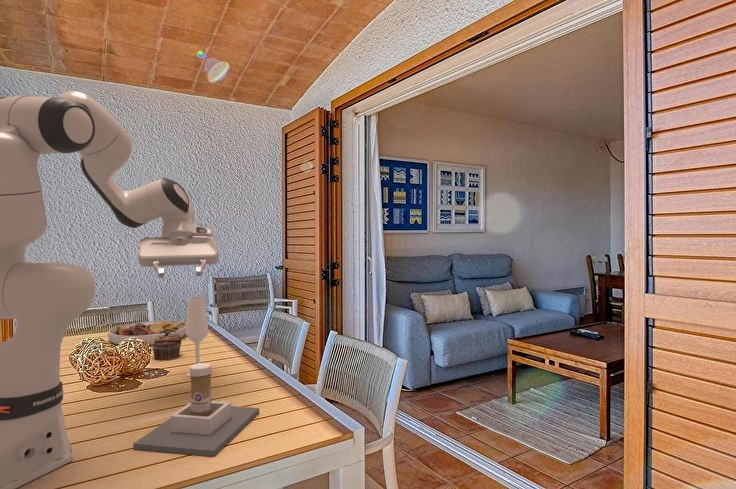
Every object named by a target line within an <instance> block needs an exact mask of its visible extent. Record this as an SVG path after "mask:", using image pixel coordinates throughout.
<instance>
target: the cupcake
mask: <svg viewBox="0 0 736 489" xmlns="http://www.w3.org/2000/svg"><path fill="white" fill-rule="evenodd" d="M181 339H182V337H180V336H179V335H178V334H177V333H176V330H175V329H169V331H167V330H165V329H163V331H162V332H160V335H159V336H157V337H156V338H155V339H154V344H152V345H151V349H152V353H153V357H154V358H153V359H154V360H156V361H168V360H174V359H177V358H178V357H179V355H180V351H181V345H182V340H181Z"/></svg>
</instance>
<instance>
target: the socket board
mask: <svg viewBox="0 0 736 489" xmlns="http://www.w3.org/2000/svg"><path fill="white" fill-rule="evenodd" d="M258 413H259V414H260V407H248V406H237V405H235V406H233V405H232V402H229V401H228V402H227V401H214V400H213V401H212V400H211V415H210V416H208V417H204V416H191V401H190V402H189V403H188V404H186V405H184V406H183V407H181V408H180V409H178V410H177V411H175V412H174V413H172V414H171V415H170V418H169V419H167V420H166V421H164V422H163V423H161V424H160V425H159V426H157V427H156V428H154V429H153V430H151V431H150V432H148V433H147V434H145V435H144V436H142V437H140V438H139V439H138V440H136V441H135V442H134V443H133V446H132V447H133V448H132V449H133V450H137V451H148V452H157V451H162V452H161V453H168V452H175V453H174V454H179V453H185V454H184V455H190V454H192V455H191V456H193V455H194V456H201V455H202V456H203V457H212V456H213V458H214V457H215V456H217V454H218V453H219V452H220V451H222V449H223V448H225V447H226V445H228V444H229V443H230V442H231V441H232V440H233V439H234V438H235V437H236V436H237V435H238V434H239V433H240V432H241V431H242V430H243V429H244V428H245V427H246V426H247V425H248V424H249V423H250V422H252V420H253V419H255V418H256V417H257V416H258V415H259V414H258ZM257 414H258V415H257ZM256 415H257V416H256ZM244 426H245V427H244ZM243 427H244V428H243ZM242 428H243V429H242ZM241 429H242V430H241ZM240 430H241V431H240ZM239 431H240V432H239ZM238 432H239V433H238ZM237 433H238V434H237ZM236 434H237V435H236ZM235 435H236V436H235ZM234 436H235V437H234ZM233 437H234V438H233ZM232 438H233V439H232ZM231 439H232V440H231ZM230 440H231V441H230ZM229 441H230V442H229Z"/></svg>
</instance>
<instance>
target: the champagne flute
mask: <svg viewBox="0 0 736 489" xmlns="http://www.w3.org/2000/svg"><path fill="white" fill-rule="evenodd" d="M187 300H188V302H187V312H186V322H185V323H186V334H185V335H186V337H187V338H188V339H189V341H191V342H192V343H193V344H195V346H194V348H195V350H194V352H195V364H198V363H201V362H200V353H201V352H200V343H201V342H203V341H204V339H205V338H206V337H207V336H208V334H209V326H208V325H209V323H208V315H207V308H206V307H207V306H206V299H205V296H190V297H188V299H187ZM186 376H187V377H190V378H191V376H190V371H189V372H187V373H186Z"/></svg>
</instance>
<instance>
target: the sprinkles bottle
mask: <svg viewBox="0 0 736 489" xmlns="http://www.w3.org/2000/svg"><path fill="white" fill-rule="evenodd" d="M189 372H190V376H191V377H190V376H189V377H190V402H191V416H204V417H208V416H210V415H211V401H212V383H211V382H212V379H211V378H212V376H211V375H212V364H211V363H209V362H200V363H198V364H196V363H194V364H192V365H190V367H189Z"/></svg>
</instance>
